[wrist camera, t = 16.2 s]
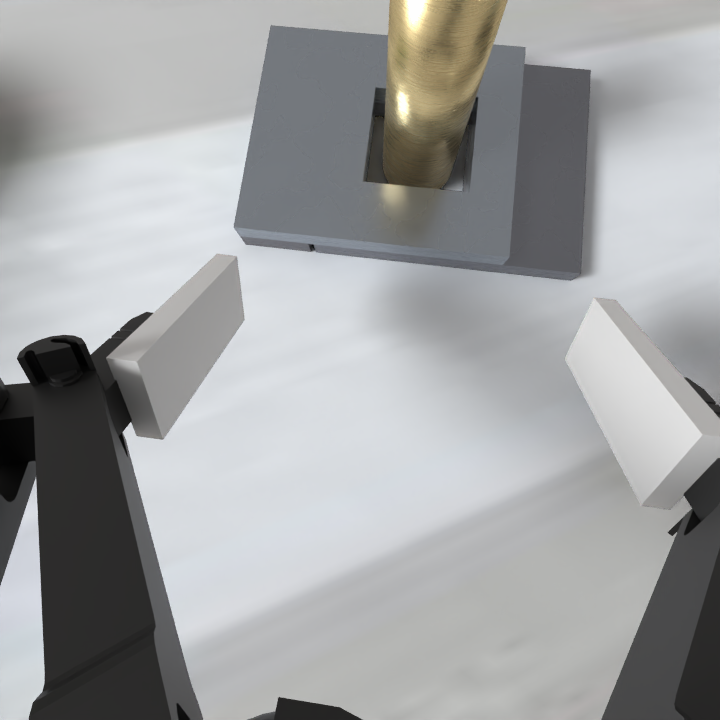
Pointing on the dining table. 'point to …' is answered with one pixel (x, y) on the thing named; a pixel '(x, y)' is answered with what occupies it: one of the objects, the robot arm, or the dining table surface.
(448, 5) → the brass pin
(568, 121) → the grey square-hole plate
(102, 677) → the robot arm
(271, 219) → the grey slotted plate
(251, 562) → the dining table surface
